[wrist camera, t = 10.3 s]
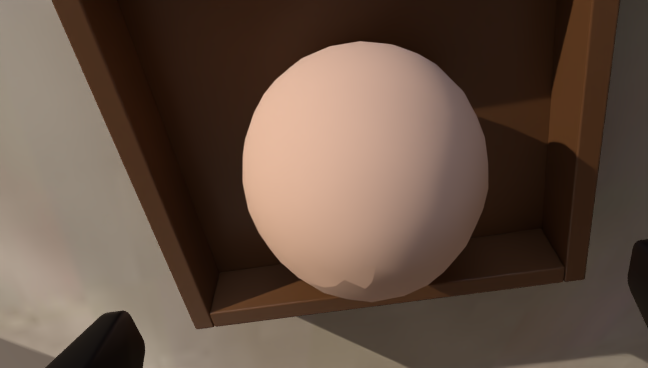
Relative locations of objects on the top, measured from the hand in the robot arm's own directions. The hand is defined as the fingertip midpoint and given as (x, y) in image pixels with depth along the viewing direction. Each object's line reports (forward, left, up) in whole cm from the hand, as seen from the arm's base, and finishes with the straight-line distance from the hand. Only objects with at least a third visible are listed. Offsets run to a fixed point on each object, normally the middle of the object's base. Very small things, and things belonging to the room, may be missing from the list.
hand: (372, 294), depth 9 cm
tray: (0, +1, -11) cm, 11 cm away
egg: (0, +1, -11) cm, 11 cm away
